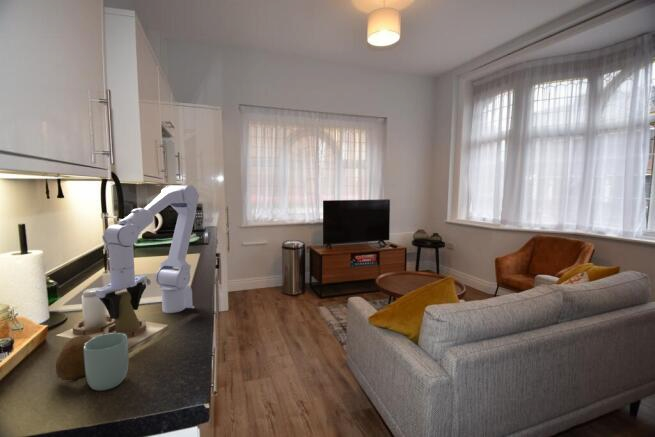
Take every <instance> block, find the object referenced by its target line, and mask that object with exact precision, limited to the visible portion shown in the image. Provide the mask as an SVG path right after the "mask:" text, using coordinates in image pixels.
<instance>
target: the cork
mask: <svg viewBox="0 0 655 437" xmlns="http://www.w3.org/2000/svg"><path fill="white" fill-rule="evenodd" d="M115 294H117V295H121V299H120V303H119V318H118V319H115V328H116V333H125V332H130V331H133V330H135V329H137V328H139V327H140V326H141V325H140V323H139V321H138V316H137V314H136V312H135V310H134V309H133V307H132V305H131V303H130V300H131V294H130V293H129V292H127V290H126V291H118V292H115Z"/></svg>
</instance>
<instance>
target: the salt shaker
mask: <svg viewBox="0 0 655 437" xmlns="http://www.w3.org/2000/svg"><path fill="white" fill-rule="evenodd" d="M100 288H101V287H93V288H87V289H85V290H83V292H82V295H81V309H82V320H83V325H84V328H85V329H88V328H93V327H99V326H102V325H105V324H107V315H108V310H107V308H106V307H105V305H104V304H103V302H102V301H101V300H100V299H99V298H98V297H96V291H95V290H98V289H100Z"/></svg>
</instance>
